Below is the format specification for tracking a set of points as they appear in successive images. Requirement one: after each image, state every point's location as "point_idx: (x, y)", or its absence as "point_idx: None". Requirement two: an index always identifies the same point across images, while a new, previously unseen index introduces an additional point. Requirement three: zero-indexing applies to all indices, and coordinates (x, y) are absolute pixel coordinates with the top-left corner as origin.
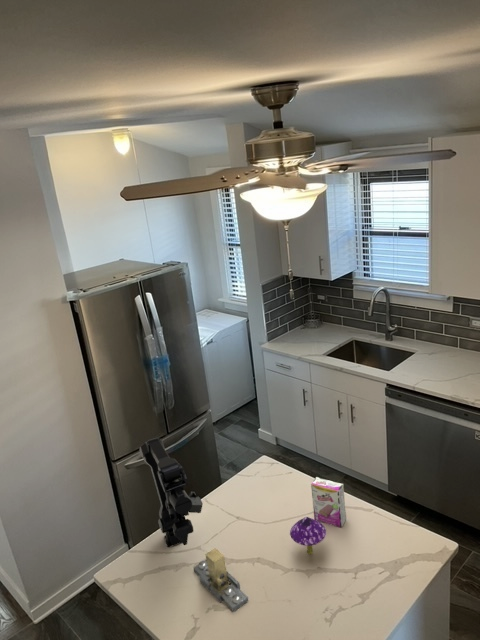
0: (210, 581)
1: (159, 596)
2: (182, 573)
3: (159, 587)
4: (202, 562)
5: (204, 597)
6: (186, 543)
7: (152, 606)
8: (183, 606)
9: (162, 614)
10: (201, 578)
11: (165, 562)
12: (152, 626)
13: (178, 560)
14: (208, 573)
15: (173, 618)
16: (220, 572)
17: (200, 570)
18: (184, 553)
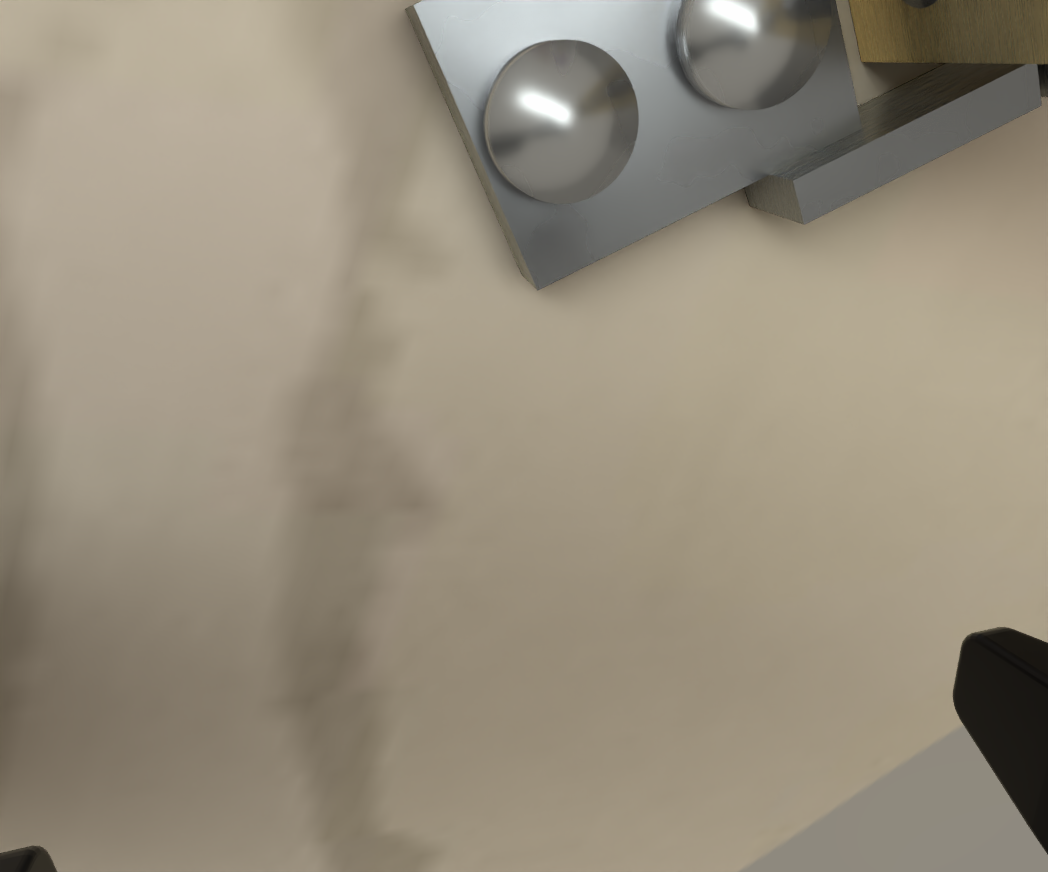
0: (907, 59)
1: (734, 663)
2: (504, 432)
3: (617, 673)
4: (529, 126)
5: (998, 186)
6: (1039, 658)
7: (817, 709)
8: (975, 433)
9: (948, 620)
10: (856, 196)
11: (223, 643)
12: None
13: (229, 481)
14: (808, 62)
15: (1044, 526)
16: None
17: (642, 184)
18: (84, 391)
